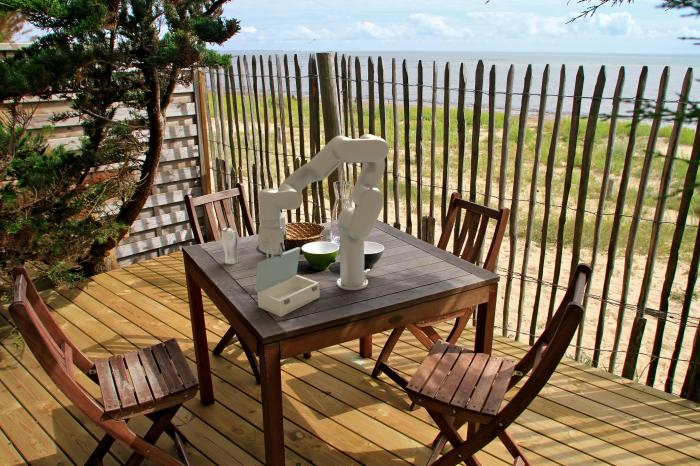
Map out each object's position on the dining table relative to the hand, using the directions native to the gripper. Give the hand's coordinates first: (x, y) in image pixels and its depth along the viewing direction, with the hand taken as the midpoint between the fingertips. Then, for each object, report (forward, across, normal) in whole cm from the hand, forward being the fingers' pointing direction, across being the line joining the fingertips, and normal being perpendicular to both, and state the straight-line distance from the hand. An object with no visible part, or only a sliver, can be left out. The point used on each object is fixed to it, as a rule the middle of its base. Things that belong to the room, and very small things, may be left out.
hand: (273, 269), depth 197 cm
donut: (+11, -20, +52) cm, 57 cm away
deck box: (+11, +8, 0) cm, 14 cm away
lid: (-1, +3, 0) cm, 3 cm away
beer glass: (+12, -41, +11) cm, 44 cm away
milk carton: (+11, -34, +32) cm, 48 cm away
